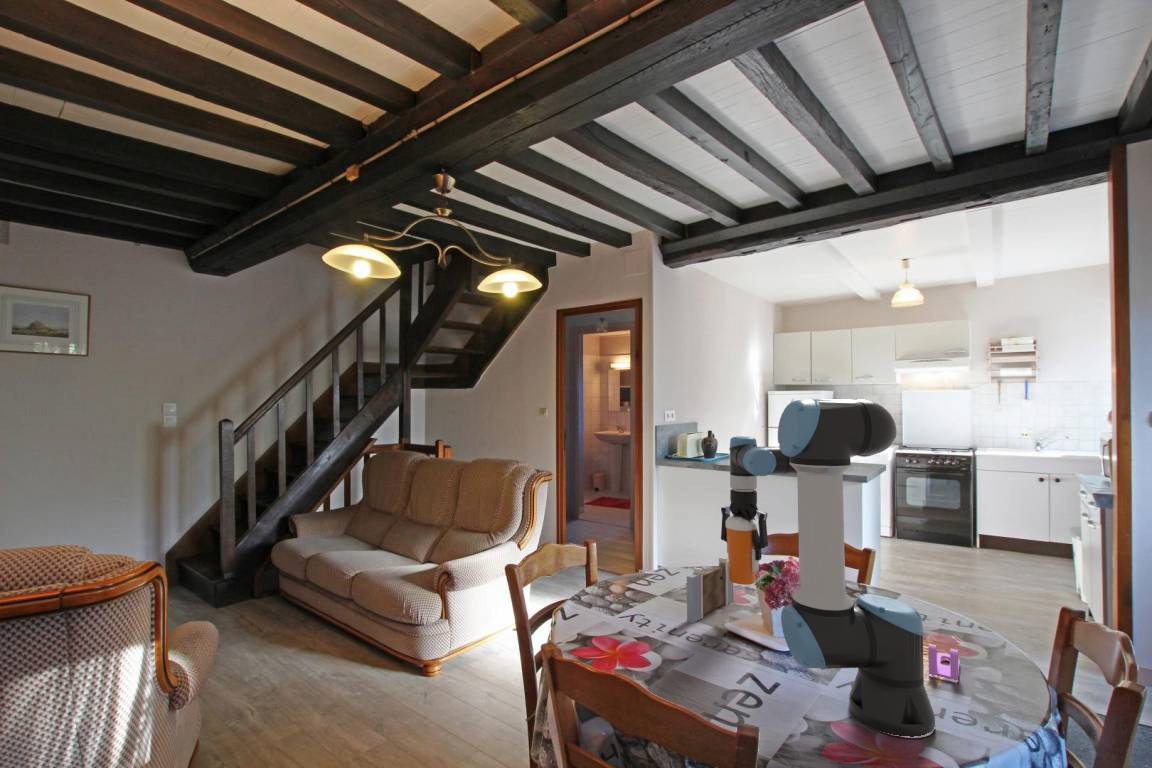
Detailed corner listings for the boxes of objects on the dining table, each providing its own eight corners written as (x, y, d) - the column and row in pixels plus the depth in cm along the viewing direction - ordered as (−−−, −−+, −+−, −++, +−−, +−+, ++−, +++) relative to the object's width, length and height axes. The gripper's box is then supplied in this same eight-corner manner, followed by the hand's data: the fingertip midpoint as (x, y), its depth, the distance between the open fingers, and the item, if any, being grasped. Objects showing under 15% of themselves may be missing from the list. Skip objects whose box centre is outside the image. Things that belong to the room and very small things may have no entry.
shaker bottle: (725, 584, 156) (724, 514, 157) (726, 574, 165) (725, 508, 166) (758, 587, 154) (757, 516, 154) (757, 577, 162) (756, 510, 163)
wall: (693, 623, 156) (693, 573, 157) (686, 620, 158) (685, 571, 159) (734, 600, 174) (733, 555, 174) (726, 598, 176) (726, 554, 176)
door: (704, 616, 160) (704, 577, 160) (697, 614, 162) (697, 575, 162) (727, 604, 170) (726, 567, 170) (720, 602, 171) (719, 565, 172)
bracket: (958, 684, 123) (957, 653, 123) (928, 677, 126) (928, 647, 127) (960, 662, 133) (959, 633, 134) (933, 656, 137) (932, 628, 137)
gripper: (781, 491, 155) (781, 572, 155) (720, 484, 169) (720, 558, 168) (769, 495, 150) (770, 579, 150) (707, 487, 163) (708, 564, 163)
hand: (744, 568), depth 159 cm, fingers open, 6 cm apart
